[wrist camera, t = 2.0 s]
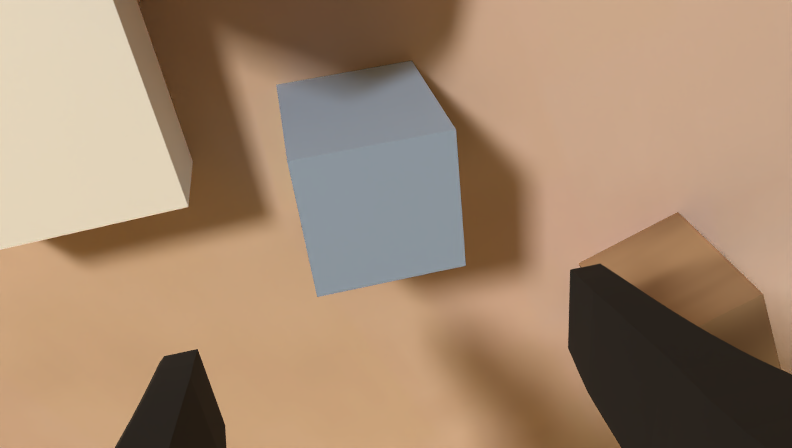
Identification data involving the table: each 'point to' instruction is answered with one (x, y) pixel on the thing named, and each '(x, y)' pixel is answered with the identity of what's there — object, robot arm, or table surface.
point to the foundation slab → (83, 121)
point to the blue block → (373, 176)
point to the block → (694, 284)
